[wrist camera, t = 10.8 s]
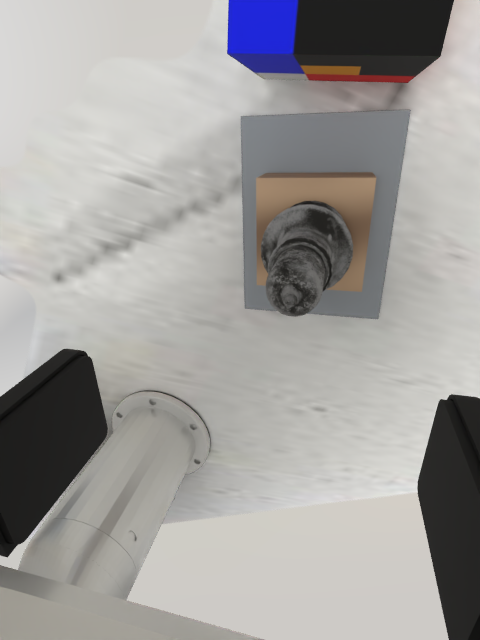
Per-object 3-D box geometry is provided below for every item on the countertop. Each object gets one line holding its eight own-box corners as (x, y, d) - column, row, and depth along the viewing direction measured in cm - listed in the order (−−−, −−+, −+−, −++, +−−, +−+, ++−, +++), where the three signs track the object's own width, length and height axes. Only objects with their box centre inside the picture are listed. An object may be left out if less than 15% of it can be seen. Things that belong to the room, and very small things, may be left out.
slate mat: (377, 316, 33) (378, 319, 33) (246, 305, 36) (244, 308, 35) (409, 110, 26) (410, 109, 26) (242, 116, 29) (240, 116, 28)
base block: (359, 274, 31) (361, 291, 28) (265, 269, 33) (256, 285, 30) (372, 172, 28) (376, 177, 24) (266, 172, 30) (256, 177, 26)
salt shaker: (276, 280, 29) (238, 362, 19) (263, 203, 27) (212, 248, 16) (355, 272, 27) (362, 357, 17) (348, 189, 25) (352, 228, 15)
